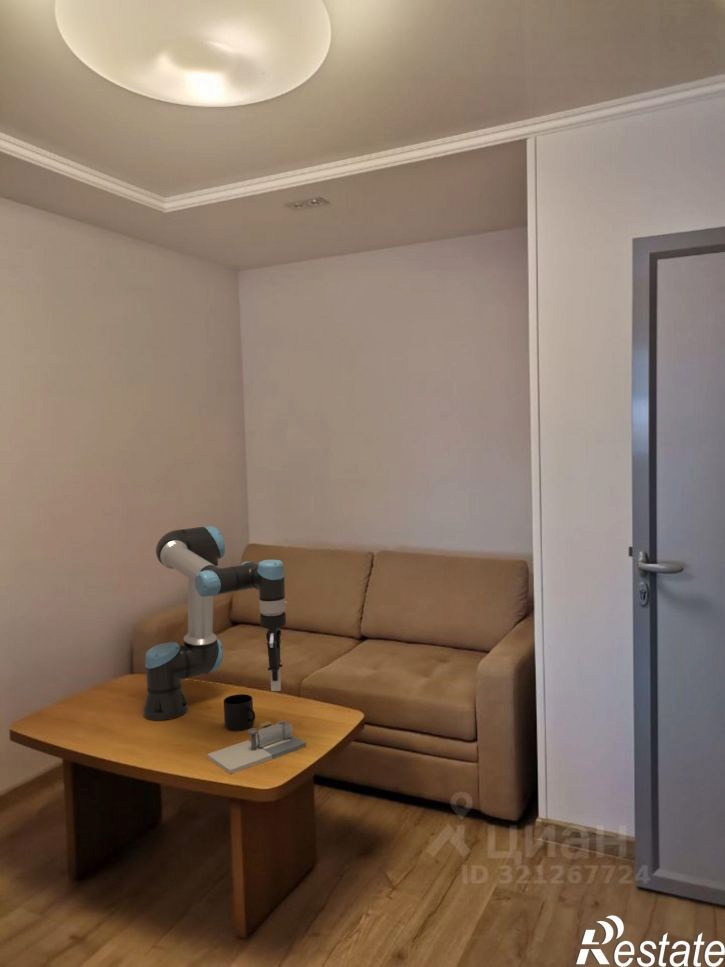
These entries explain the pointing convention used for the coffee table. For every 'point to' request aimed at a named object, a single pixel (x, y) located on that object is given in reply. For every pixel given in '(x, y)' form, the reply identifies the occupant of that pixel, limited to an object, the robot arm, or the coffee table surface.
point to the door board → (252, 752)
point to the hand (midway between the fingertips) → (276, 689)
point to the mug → (238, 712)
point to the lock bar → (273, 733)
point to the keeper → (265, 725)
